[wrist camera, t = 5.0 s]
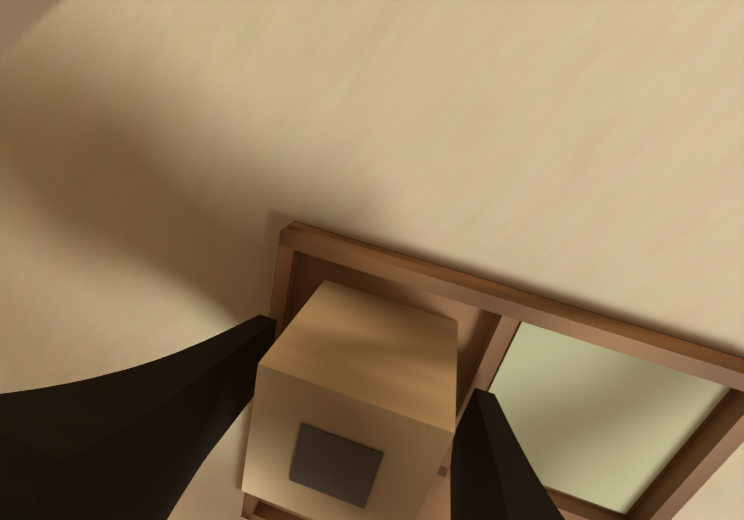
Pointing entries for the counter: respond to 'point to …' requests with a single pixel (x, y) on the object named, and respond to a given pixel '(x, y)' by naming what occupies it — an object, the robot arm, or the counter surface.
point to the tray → (546, 382)
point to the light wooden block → (353, 408)
